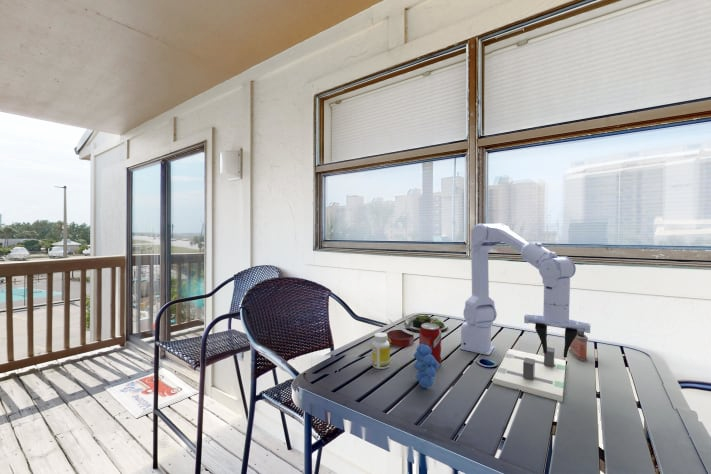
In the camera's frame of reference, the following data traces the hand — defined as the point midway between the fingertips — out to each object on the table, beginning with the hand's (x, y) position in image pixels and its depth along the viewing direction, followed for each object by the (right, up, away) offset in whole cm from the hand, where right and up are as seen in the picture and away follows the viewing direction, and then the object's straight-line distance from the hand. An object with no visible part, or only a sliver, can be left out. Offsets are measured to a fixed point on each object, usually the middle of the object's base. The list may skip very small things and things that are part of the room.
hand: (555, 354), depth 84 cm
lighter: (+20, -9, +20) cm, 30 cm away
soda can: (-29, -9, +16) cm, 35 cm away
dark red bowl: (-36, -9, +34) cm, 50 cm away
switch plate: (-1, -9, +9) cm, 13 cm away
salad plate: (-23, -8, +51) cm, 56 cm away
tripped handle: (-5, -8, +4) cm, 10 cm away
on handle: (+5, -7, +11) cm, 15 cm away
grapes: (-33, -10, +2) cm, 35 cm away
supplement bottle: (-45, -9, +15) cm, 48 cm away
